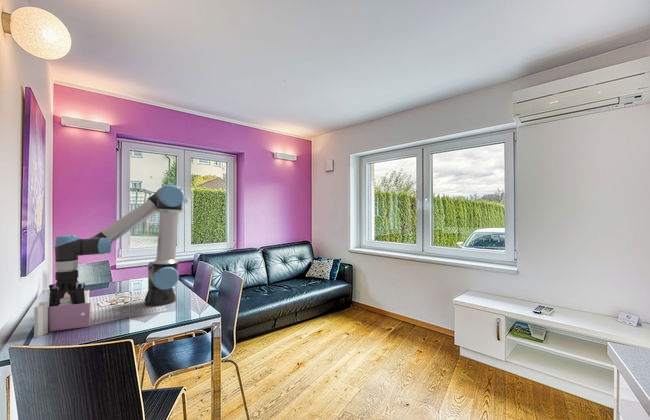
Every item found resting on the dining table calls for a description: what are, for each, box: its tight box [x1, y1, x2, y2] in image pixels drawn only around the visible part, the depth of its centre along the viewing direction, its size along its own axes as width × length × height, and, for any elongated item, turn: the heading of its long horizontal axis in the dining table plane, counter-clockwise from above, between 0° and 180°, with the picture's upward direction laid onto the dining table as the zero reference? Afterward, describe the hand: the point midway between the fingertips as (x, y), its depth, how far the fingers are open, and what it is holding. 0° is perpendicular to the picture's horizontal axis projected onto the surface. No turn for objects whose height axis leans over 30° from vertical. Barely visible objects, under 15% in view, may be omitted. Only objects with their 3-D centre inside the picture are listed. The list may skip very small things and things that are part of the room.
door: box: [48, 302, 91, 333], centre depth 121 cm, size 3×15×10 cm, turn 110°
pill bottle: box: [58, 297, 73, 306], centre depth 125 cm, size 6×6×11 cm
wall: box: [33, 291, 87, 338], centre depth 126 cm, size 2×25×13 cm, turn 2°
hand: (67, 322), depth 125 cm, fingers closed on pill bottle, 6 cm apart
